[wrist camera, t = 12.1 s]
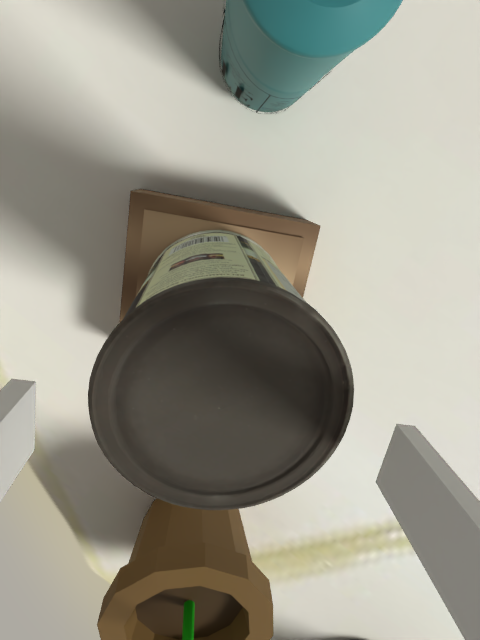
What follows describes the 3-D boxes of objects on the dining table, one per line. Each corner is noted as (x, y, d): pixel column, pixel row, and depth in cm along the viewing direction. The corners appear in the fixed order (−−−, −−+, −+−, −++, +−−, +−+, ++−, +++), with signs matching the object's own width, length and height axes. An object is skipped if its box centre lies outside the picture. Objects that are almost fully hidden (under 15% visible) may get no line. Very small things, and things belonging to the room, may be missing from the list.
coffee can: (206, 388, 31) (206, 549, 17) (113, 290, 27) (25, 397, 14) (313, 310, 29) (402, 422, 16) (228, 196, 26) (250, 217, 13)
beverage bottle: (328, 55, 27) (604, -215, 8) (271, 140, 29) (393, 73, 10) (254, -16, 25) (389, -558, 7) (197, 78, 27) (175, -144, 8)
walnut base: (272, 365, 35) (280, 389, 31) (125, 346, 33) (115, 368, 29) (306, 219, 31) (321, 226, 27) (140, 188, 29) (130, 190, 25)
